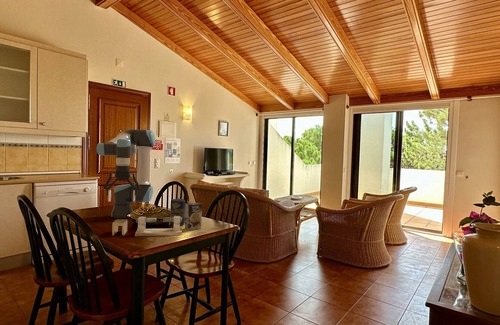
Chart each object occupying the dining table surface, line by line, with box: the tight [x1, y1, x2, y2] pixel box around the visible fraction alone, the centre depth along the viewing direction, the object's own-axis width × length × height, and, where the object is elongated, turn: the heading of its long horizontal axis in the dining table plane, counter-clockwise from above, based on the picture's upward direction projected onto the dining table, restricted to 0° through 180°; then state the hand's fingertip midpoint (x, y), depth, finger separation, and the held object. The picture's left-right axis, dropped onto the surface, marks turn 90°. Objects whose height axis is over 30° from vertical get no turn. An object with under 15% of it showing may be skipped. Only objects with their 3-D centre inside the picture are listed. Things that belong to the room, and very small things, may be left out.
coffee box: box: [184, 202, 203, 231], centre depth 189 cm, size 9×6×16 cm
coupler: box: [111, 218, 128, 236], centre depth 174 cm, size 6×10×7 cm, turn 13°
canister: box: [169, 197, 186, 226], centre depth 198 cm, size 10×10×18 cm
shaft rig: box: [134, 216, 183, 237], centre depth 176 cm, size 10×26×10 cm, turn 103°
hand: (121, 201), depth 175 cm, fingers open, 13 cm apart
